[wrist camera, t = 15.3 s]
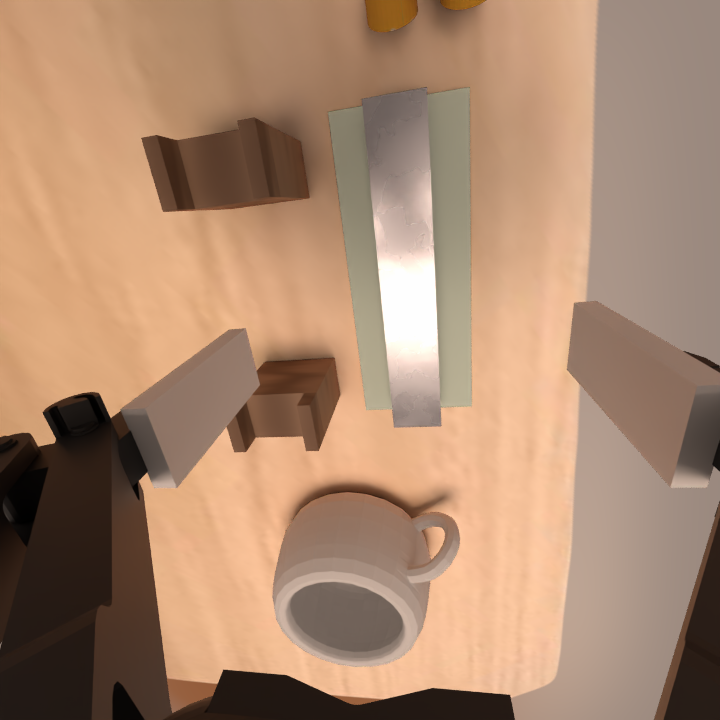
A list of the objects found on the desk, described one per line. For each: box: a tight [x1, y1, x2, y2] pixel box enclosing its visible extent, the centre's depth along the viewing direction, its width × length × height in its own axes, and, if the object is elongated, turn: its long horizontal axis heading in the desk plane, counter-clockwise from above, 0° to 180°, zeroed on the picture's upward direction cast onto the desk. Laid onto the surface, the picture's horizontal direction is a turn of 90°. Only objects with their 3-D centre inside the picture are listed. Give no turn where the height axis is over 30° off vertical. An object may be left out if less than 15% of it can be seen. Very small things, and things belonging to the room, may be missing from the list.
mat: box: [328, 87, 472, 410], centre depth 31 cm, size 10×25×1 cm, turn 7°
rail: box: [362, 87, 441, 427], centre depth 29 cm, size 4×24×4 cm, turn 7°
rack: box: [141, 118, 340, 452], centre depth 29 cm, size 7×22×9 cm, turn 7°
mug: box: [273, 492, 460, 667], centre depth 39 cm, size 21×17×10 cm
